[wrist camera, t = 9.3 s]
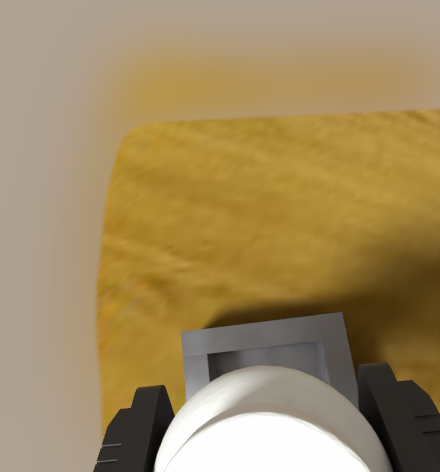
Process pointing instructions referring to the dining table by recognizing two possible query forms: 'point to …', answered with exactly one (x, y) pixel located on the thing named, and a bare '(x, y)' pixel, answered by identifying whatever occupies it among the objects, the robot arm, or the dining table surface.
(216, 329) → the socket cup
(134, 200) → the dining table surface
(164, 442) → the pill bottle
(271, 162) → the dining table surface
